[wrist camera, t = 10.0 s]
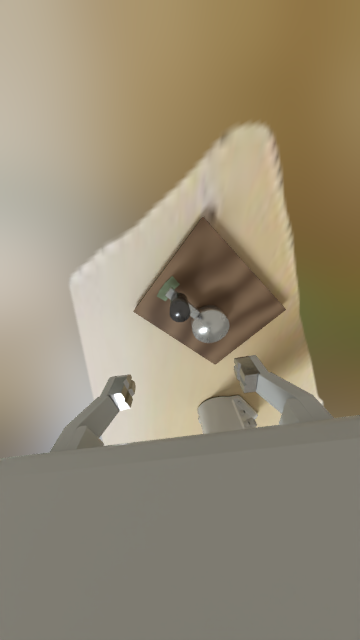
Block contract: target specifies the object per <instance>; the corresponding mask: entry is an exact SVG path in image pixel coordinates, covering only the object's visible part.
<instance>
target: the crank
mask: <svg viewBox="0 0 360 640" xmlns="http://www.w3.org/2000/svg"><path fill="white" fill-rule="evenodd" d="M165 296H166V297H168V298H169V299H170V300H171V301H170V312H169V314H170V317H171V319H172V320H174V321H176V322H184V321H186V320H187V319H188V318H189V317H190V316H191V317H192V318H191V326H192V331H193V334H194V336H195V337H196V339H198V340H199V341H201V342H204V343H213V342H217V341H219V340H221V339H222V338H223V337H224V336H225V335H226V334H227V332H228V330H229V321H228V319H227V317H226V316H225V314H224V313H223V312H222V310H221V309H220V308H218V307H216V306H213V305H206V306H202V307H200V308H198V309H197V308H196V307H195V306H194V305H192V304H191V303H190V302H189V301H188V299H187V297H186V295H185V294H183V293H178V292H177V291H176V290H175V289H174V288H172V287H170V288H169V290H168V291H167V292H166V293H165Z"/></svg>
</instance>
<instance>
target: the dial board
mask: <svg viewBox="0 0 360 640" xmlns="http://www.w3.org/2000/svg"><path fill="white" fill-rule="evenodd" d="M170 287H172V288H174V289H175V290H176V291H177V292H178V293H183V294H185V295H186V297H187V299H188V301H189V302H190V303H191V304H192V305H194V306H195V307H196V308H197V309H198V308H200V307H202V306H206V305H213V306H216V307H218V308H220V309H221V310H222V312H223V313H224V314H225V316H226V317H227V319H228V321H229V330H228V332H227V334H226V335H225V336H224V337H223V338H222V339H221V340H219V341H217V342H213V343H204V342H201V341H199V340H198V339H196V337H195V336H194V334H193V331H192V326H191V318H192V317H191V316H190V317H189V318H188V319H187V320H186V321H184V322H176V321H174V320H172V319H171V317H170V314H169V312H170V301H171V300H170V299H169V298H168V297H166V296H165V293H166V292H167V291H168V290H169V288H170ZM285 310H286V309H285V308H284V307H283V305H282V304H281V303H280V302H279V301H278V300H277V299H276V298H275V297H274V295H273V294H272V293H271V292H270V291H269V290H268V289H267V288H266V286H265V285H264V284H263V283H262V282H261V281H260V280H259V279H258V278H257V276H256V275H255V274H254V273H253V272H252V271H251V270H250V269H249V267H248V266H247V265H246V264H245V263H244V262H243V261H242V260H241V259H240V257H239V256H238V255H237V254H236V253H235V252H234V251H233V250H232V248H231V247H230V246H229V245H228V244H227V243H226V242H225V241H224V240H223V238H222V237H221V236H220V235H219V234H218V233H217V232H216V231H215V229H214V228H213V227H212V226H211V225H210V224H209V223H208V222H207V221H206V219H205V218H204V217H202V218H201V220H200V221H199V222H198V224H197V225H196V226H195V228H194V229H193V231H192V232H191V233H190V235H189V236H188V237H187V239H186V240H185V241H184V243H183V244H182V246H181V247H180V248H179V250H178V251H177V252H176V254H175V255H174V256H173V258H172V259H171V261H170V262H169V263H168V265H167V266H166V267H165V269H164V270H163V271H162V273H161V274H160V276H159V277H158V278H157V280H156V281H155V282H154V284H153V285H152V286H151V288H150V289H149V291H148V292H147V293H146V295H145V296H144V297H143V299H142V300H141V301H140V303H139V304H138V306H137V307H136V308H135V310H134V311H133V312H135V313H136V314H138V315H139V316H141V317H142V318H144V319H146V320H147V321H149V322H150V323H152V324H153V325H155V326H156V327H158V328H159V329H161V330H163V331H164V332H166V333H167V334H169V335H170V336H172V337H173V338H175V339H176V340H178V341H180V342H181V343H183V344H184V345H186V346H187V347H189V348H190V349H192V350H193V351H195V352H197V353H198V354H200V355H201V356H203V357H204V358H206V359H207V360H209V361H210V362H212V363H214V364H217V363H218V362H219V361H221V360H222V359H223V358H224V357H226V356H227V355H228V354H230V353H231V352H232V351H233V350H235V349H236V348H237V347H239V346H240V345H241V344H242V343H244V342H245V341H246V340H248V339H249V338H250V337H251V336H253V335H254V334H255V333H257V332H258V331H259V330H260V329H262V328H263V327H264V326H266V325H267V324H268V323H269V322H271V321H272V320H273V319H275V318H276V317H277V316H278V315H280V314H281V313H282V312H284V311H285Z"/></svg>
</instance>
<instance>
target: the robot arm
mask: <svg viewBox="0 0 360 640" xmlns="http://www.w3.org/2000/svg"><path fill="white" fill-rule="evenodd" d="M234 363H235V366H234V372H235V375H236V378H237V379H238V380H239V381H240V386H241V388H242V390H243V393H248V392H256V393H258V394H259V395H260V396H261V397H262V398H264V399H265V400H266V401H267V402H268V403H270V404H271V405H272V406H273V407H274V408H276V409H277V410H278V411H279V412H280V413H282V415H281V418H280V421H279V424H280V425H274V426H266V427H258V428H256V426H257V424H256V422H255V419H256V418H257V416H258V414H257V412H256V411H255V410H254V409H253V408H252V407H251V406H250V405H249V404H248V403H247V402H246V401H245V400H244V399H243V398H242V397H241V396H239V395H236V396H231V397H216V398H212V399H209V400H207V401H205V402H203V403H202V404H201V405H200V406H199V408H198V414H199V418H198V420H199V423H201V427H202V431H203V434H199V435H191V436H183V437H174V438H166V439H158V440H150V441H141V442H133V443H125V444H117V445H108V446H104V443H103V442H102V441H101V440H100V439H99V437H100V436H101V435H102V433H103V432H104V431H105V429H106V428H107V427H108V425H109V424H110V423H111V421H112V420H113V419H114V417H115V416H116V415H117V413H118V412H119V410H124V409H129V408H131V404H132V401H133V399H132V396H133V395H134V394H135V387H136V386H135V382H134V381H133V380H131V379H132V377H131V375H121V376H114V377H110V378H109V380H108V382H107V384H106V386H105V388H104V390H103V392H102V394H101V396H100V397H98V398H96V399H95V400H94V401H93V402H92V403H91V404H90V405H89V406H88V407H87V408H86V409H84V410H83V412H81V413H80V414H79V415H78V416H77V417H76V418H75V419H74V420H72V421H71V422H70V423H69V424H68V425H67V426H66V427H65V428H64V430H63V431H62V433H61V435H60V436H59V438H58V439H57V441H56V443H55V444H54V446H53V448H52V449H51V451H50V453H42V454H33V455H25V456H17V457H8V458H1V459H0V640H360V415H357V416H349V417H342V418H333V417H332V416H331V414H330V413H329V412H328V411H327V410H326V409H325V408H324V407H323V406H322V405H321V403H320V402H319V401H318V400H317V399H316V398H315V397H314V396H313V395H312V394H310V393H308V392H306V391H304V390H302V389H301V388H299V387H297V386H295V385H293V384H292V383H290V382H288V381H286V380H284V379H282V378H281V377H279V376H277V375H275V374H273V373H272V372H270V373H269V372H268V371H267V369H266V368H265V367H264V365H263V364H262V363H261V361H260V360H259V359H258V357H257V356H256V355H252V356H246V357H240V358H235V359H234Z"/></svg>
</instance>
